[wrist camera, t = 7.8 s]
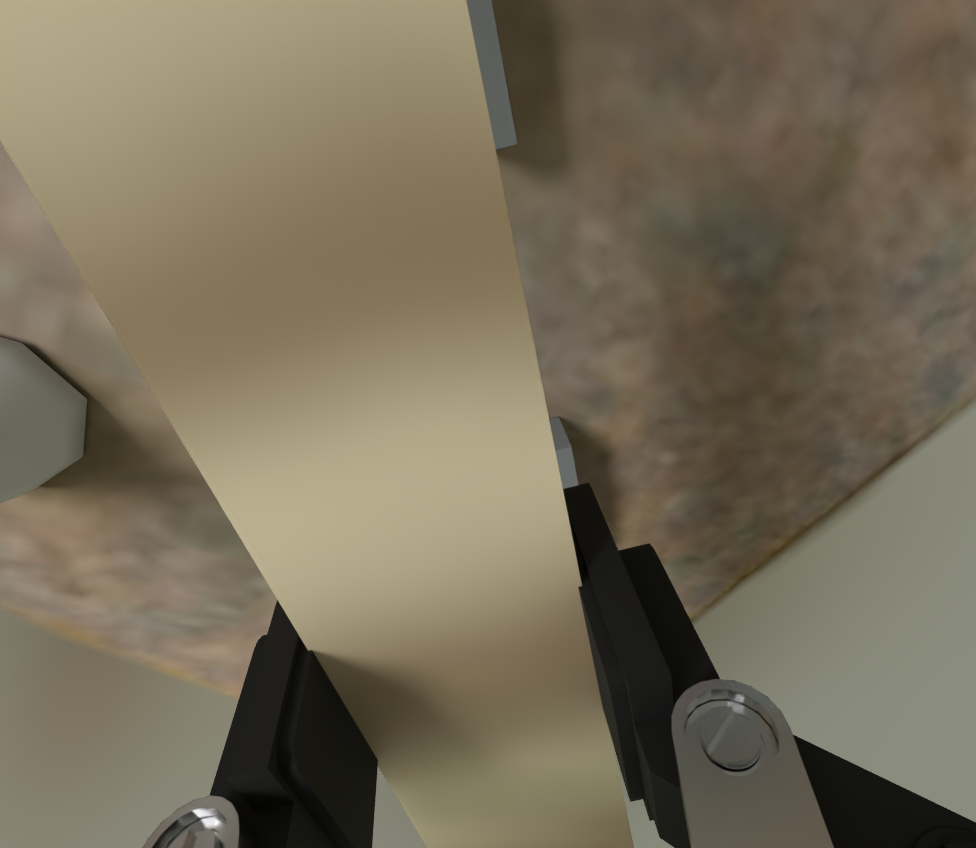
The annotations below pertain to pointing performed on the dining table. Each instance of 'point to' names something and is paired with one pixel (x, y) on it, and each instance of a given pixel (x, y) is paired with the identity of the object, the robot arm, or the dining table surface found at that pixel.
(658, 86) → the dining table surface
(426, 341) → the birch slat
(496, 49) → the end cap
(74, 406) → the flask
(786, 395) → the dining table surface
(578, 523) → the robot arm
